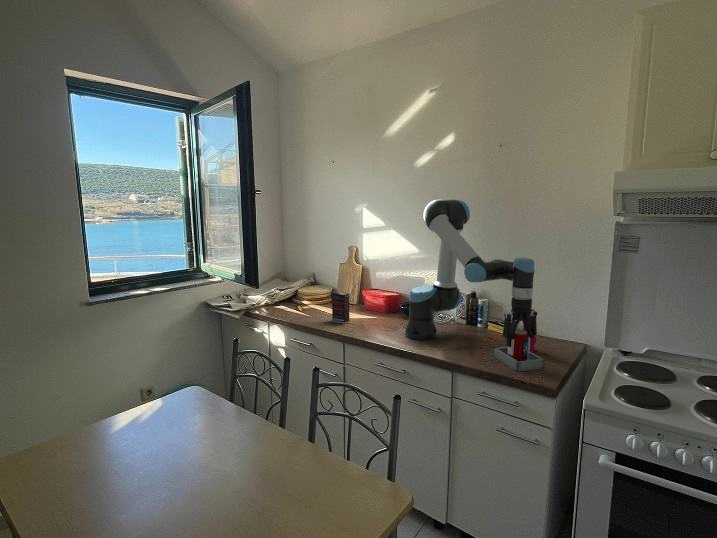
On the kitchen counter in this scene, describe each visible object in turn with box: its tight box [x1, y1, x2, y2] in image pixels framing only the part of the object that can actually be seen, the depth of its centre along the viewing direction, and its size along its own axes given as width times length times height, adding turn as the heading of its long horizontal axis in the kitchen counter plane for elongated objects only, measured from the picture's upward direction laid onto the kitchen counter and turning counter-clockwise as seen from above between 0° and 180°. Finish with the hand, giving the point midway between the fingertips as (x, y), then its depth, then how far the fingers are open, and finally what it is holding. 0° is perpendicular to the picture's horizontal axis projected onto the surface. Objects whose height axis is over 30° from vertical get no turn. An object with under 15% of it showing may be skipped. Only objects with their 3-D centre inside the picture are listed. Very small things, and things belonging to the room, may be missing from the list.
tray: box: [492, 346, 546, 372], centre depth 164 cm, size 16×12×4 cm
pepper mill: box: [521, 306, 537, 353], centre depth 176 cm, size 7×7×20 cm
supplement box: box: [331, 291, 351, 325], centre depth 218 cm, size 9×5×16 cm, turn 56°
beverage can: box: [509, 329, 529, 361], centre depth 163 cm, size 7×7×12 cm
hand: (518, 353), depth 163 cm, fingers closed on beverage can, 7 cm apart
